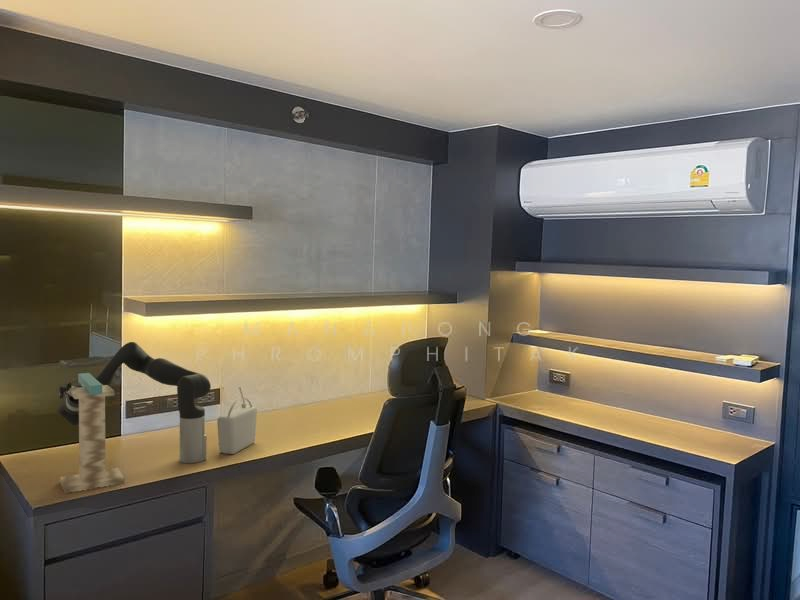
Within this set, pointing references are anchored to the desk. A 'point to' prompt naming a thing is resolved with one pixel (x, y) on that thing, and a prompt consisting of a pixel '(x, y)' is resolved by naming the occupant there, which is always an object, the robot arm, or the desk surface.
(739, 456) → the desk surface
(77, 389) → the stand
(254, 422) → the white handbag
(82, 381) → the bar
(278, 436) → the desk surface
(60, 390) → the robot arm
